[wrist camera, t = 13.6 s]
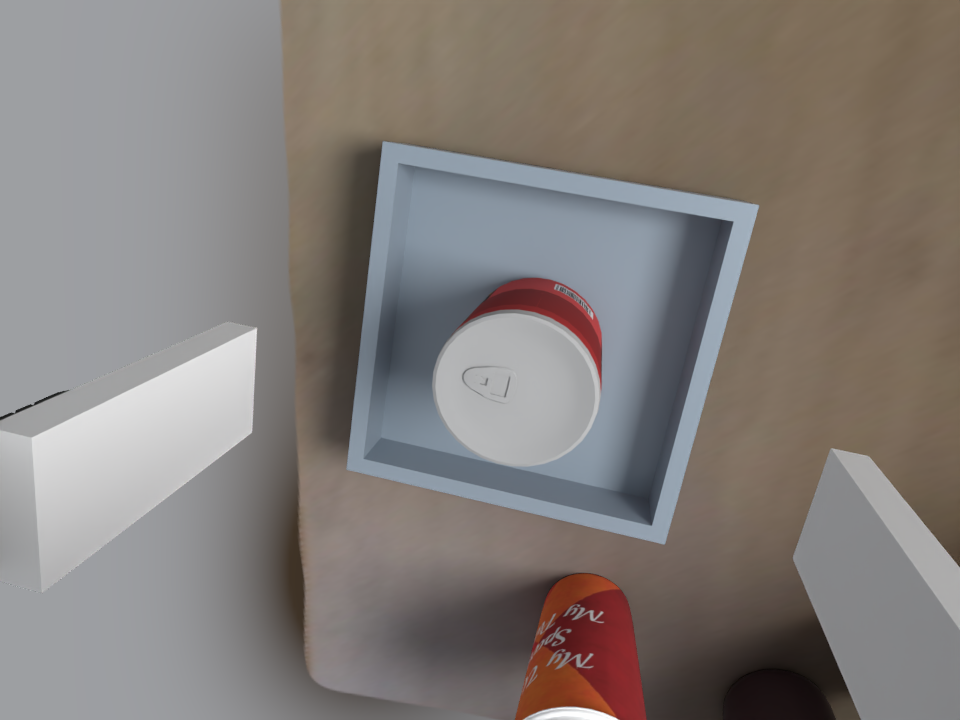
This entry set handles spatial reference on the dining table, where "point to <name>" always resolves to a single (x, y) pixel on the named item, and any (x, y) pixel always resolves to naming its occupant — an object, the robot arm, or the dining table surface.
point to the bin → (582, 267)
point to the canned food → (522, 374)
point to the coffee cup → (583, 656)
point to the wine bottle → (776, 698)
